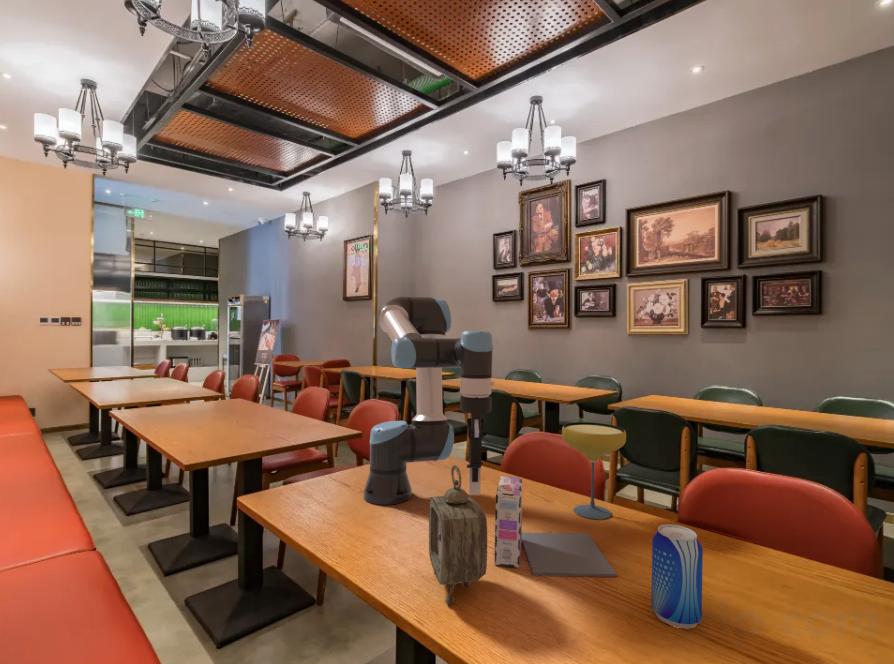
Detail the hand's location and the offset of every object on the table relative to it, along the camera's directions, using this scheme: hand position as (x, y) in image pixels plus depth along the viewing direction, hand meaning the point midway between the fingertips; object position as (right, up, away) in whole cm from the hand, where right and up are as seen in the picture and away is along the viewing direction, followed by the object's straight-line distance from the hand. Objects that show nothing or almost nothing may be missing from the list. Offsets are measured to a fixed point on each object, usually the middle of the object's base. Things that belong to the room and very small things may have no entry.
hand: (474, 493), depth 109 cm
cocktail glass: (+36, -15, +26) cm, 47 cm away
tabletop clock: (-5, -14, -15) cm, 22 cm away
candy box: (+8, -14, 0) cm, 17 cm away
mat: (+21, -14, 0) cm, 26 cm away
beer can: (+36, -15, -24) cm, 46 cm away
